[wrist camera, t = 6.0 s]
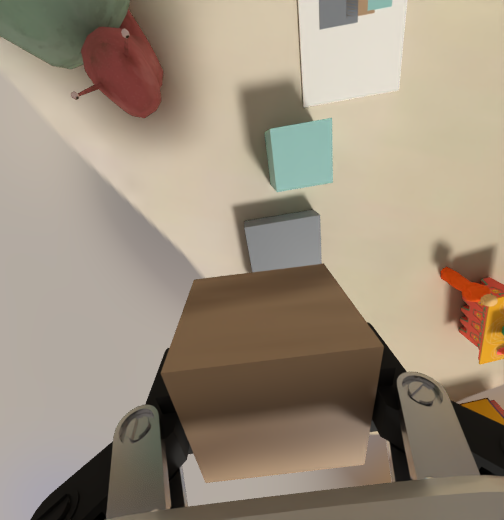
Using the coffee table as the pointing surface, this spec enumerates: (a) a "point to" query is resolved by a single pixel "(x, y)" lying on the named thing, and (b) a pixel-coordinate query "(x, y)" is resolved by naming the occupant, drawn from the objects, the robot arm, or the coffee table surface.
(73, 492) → the robot arm
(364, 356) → the walnut block
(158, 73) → the toy snail
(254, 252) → the base plate
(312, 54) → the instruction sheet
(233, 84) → the coffee table surface
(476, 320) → the toy building block set
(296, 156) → the teal block
